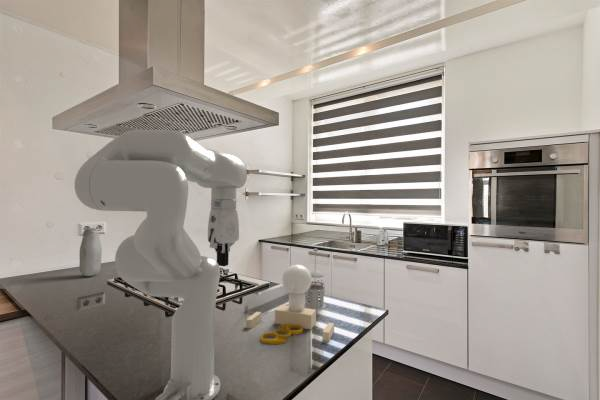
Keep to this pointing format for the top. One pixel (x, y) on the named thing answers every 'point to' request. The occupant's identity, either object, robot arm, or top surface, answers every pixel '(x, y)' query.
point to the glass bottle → (90, 252)
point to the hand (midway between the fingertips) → (222, 265)
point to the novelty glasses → (280, 338)
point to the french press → (315, 291)
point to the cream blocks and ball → (295, 303)
